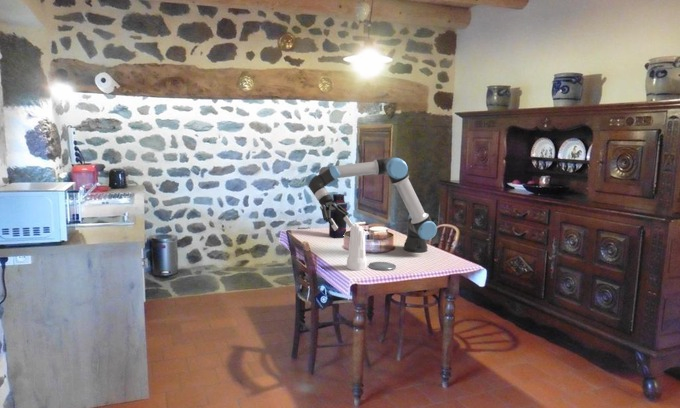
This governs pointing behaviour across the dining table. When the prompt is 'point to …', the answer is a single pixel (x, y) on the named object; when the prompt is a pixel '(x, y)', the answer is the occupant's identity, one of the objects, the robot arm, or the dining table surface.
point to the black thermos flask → (338, 217)
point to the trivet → (382, 266)
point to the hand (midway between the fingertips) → (344, 227)
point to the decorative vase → (357, 249)
